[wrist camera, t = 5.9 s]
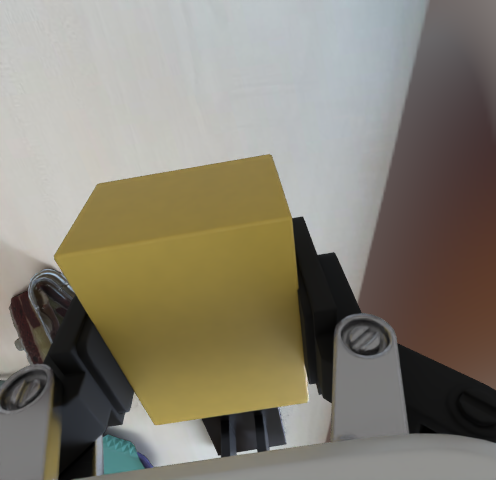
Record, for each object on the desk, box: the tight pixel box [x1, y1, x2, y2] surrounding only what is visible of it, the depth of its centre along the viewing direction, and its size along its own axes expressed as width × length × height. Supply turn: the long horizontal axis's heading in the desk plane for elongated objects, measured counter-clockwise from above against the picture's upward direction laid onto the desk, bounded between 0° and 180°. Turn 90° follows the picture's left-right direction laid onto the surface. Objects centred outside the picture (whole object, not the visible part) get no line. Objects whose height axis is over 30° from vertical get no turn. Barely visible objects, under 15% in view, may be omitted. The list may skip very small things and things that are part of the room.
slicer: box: [201, 407, 286, 458], centre depth 40 cm, size 12×9×10 cm
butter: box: [54, 154, 309, 425], centre depth 11 cm, size 5×7×3 cm
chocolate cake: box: [9, 269, 75, 365], centre depth 32 cm, size 10×7×12 cm
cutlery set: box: [0, 380, 153, 475], centre depth 43 cm, size 20×30×2 cm, turn 1°
